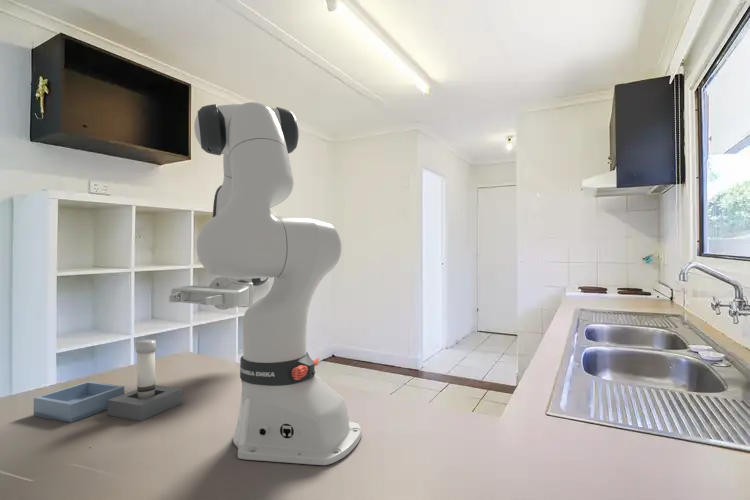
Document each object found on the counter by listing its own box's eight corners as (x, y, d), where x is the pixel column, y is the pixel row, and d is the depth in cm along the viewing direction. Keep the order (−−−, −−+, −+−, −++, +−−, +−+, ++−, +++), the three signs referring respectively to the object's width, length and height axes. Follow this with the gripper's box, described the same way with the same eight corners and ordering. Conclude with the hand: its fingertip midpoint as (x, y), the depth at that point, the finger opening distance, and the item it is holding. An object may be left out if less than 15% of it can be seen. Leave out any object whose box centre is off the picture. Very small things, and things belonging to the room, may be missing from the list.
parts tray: (124, 402, 87) (124, 386, 87) (71, 422, 77) (71, 404, 77) (88, 396, 91) (88, 381, 91) (33, 415, 81) (33, 397, 81)
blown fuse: (160, 406, 85) (160, 340, 85) (145, 413, 81) (145, 343, 82) (147, 404, 86) (147, 339, 86) (132, 410, 83) (131, 342, 83)
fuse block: (182, 402, 87) (182, 388, 87) (141, 421, 78) (141, 405, 78) (150, 397, 90) (150, 384, 90) (107, 414, 81) (107, 399, 81)
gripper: (194, 278, 111) (152, 284, 98) (258, 282, 105) (223, 289, 92) (194, 301, 111) (152, 310, 98) (258, 306, 105) (223, 316, 92)
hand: (187, 300), depth 95 cm, fingers open, 8 cm apart
